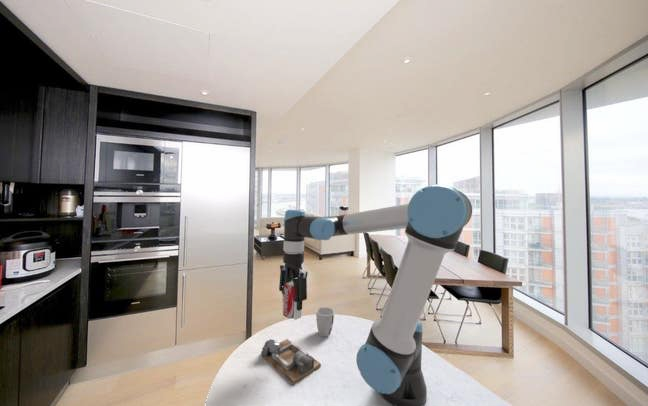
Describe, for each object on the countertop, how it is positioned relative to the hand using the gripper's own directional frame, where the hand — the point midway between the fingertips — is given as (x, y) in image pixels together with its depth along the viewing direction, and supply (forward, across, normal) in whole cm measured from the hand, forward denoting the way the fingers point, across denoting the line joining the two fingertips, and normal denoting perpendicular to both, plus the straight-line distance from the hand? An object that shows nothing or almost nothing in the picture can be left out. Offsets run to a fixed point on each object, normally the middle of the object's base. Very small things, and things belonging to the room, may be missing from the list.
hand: (291, 314), depth 84 cm
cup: (+17, +4, -22) cm, 28 cm away
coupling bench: (+17, 0, 0) cm, 17 cm away
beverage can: (+1, 0, 0) cm, 1 cm away
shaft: (+16, +6, +4) cm, 17 cm away
